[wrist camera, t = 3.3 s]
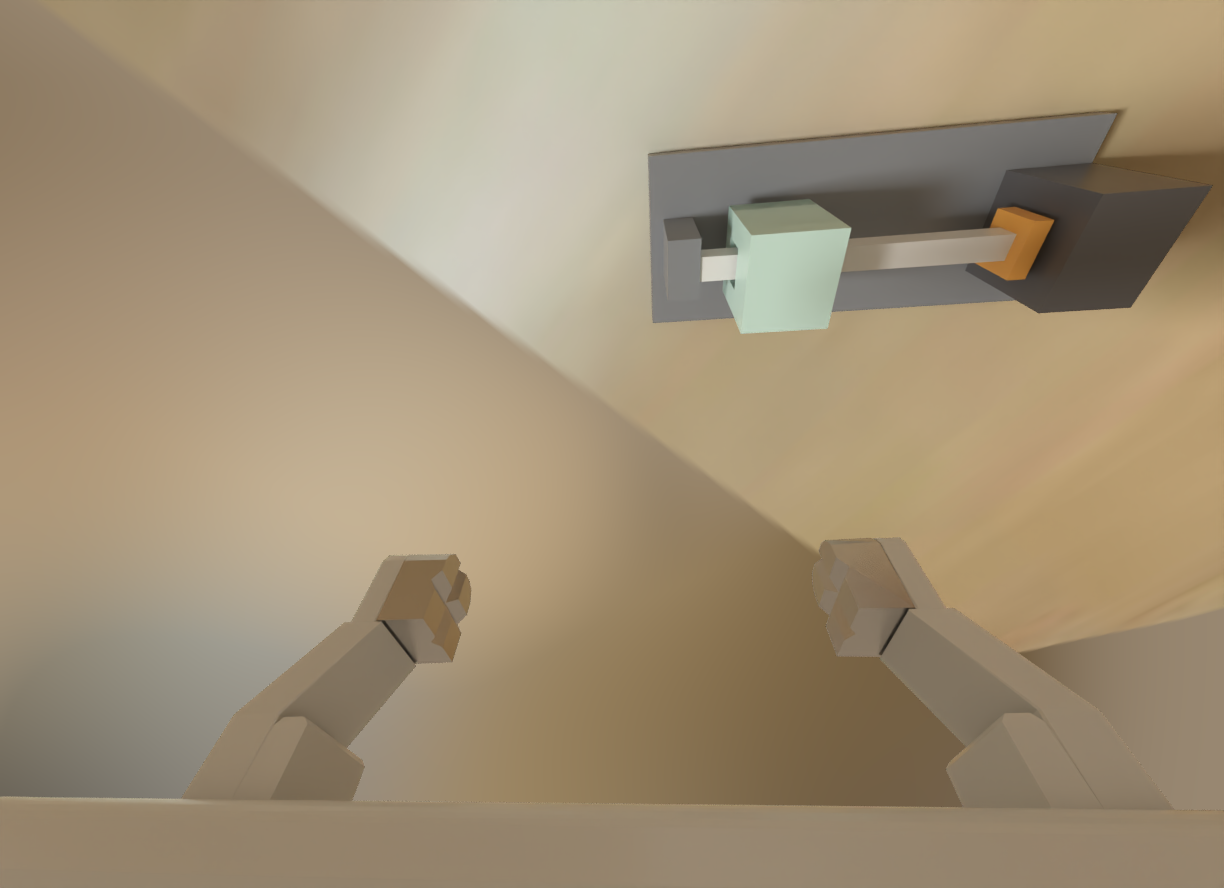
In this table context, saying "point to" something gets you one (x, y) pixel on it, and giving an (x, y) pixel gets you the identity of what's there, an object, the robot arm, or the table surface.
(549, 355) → the table surface
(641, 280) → the table surface
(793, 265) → the sleeve
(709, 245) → the slider rail mechanism
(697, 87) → the table surface
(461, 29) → the table surface
